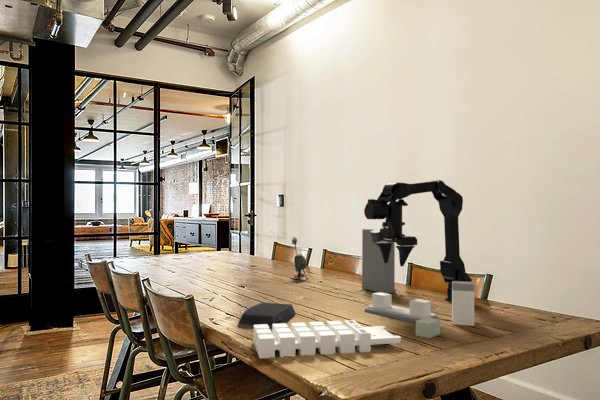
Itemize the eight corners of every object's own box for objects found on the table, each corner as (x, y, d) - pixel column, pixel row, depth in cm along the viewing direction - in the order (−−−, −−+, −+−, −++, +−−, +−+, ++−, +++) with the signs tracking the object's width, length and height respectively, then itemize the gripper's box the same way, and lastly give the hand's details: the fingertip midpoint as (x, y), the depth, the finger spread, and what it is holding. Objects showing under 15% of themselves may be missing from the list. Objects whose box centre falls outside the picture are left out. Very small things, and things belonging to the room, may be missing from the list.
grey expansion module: (452, 320, 145) (452, 281, 145) (472, 321, 143) (472, 281, 143) (452, 324, 140) (452, 283, 140) (474, 325, 138) (474, 284, 138)
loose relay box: (427, 331, 132) (427, 317, 132) (440, 334, 129) (440, 319, 129) (415, 335, 128) (415, 320, 128) (428, 338, 125) (428, 323, 125)
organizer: (253, 324, 121) (383, 318, 128) (253, 343, 121) (383, 336, 128) (259, 339, 108) (403, 331, 115) (259, 360, 108) (403, 351, 115)
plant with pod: (294, 281, 218) (294, 237, 218) (288, 277, 229) (288, 236, 229) (311, 280, 220) (311, 237, 221) (304, 276, 231) (304, 235, 232)
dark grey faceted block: (234, 327, 137) (234, 313, 137) (260, 312, 156) (260, 300, 156) (277, 330, 133) (277, 316, 133) (297, 315, 152) (297, 302, 152)
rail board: (384, 307, 163) (384, 291, 163) (437, 318, 147) (437, 300, 147) (364, 311, 156) (364, 294, 156) (418, 323, 140) (418, 304, 140)
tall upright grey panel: (396, 292, 191) (396, 230, 191) (385, 294, 187) (385, 230, 187) (372, 287, 202) (372, 228, 202) (361, 289, 199) (361, 229, 199)
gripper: (359, 218, 168) (359, 262, 168) (390, 220, 151) (390, 269, 151) (385, 218, 173) (385, 261, 173) (418, 219, 156) (418, 267, 156)
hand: (393, 264), depth 163 cm, fingers open, 9 cm apart
